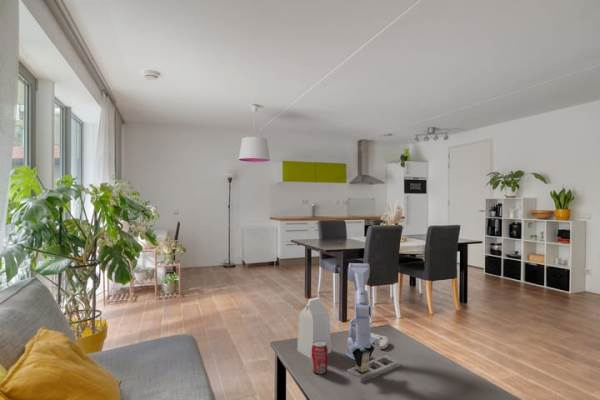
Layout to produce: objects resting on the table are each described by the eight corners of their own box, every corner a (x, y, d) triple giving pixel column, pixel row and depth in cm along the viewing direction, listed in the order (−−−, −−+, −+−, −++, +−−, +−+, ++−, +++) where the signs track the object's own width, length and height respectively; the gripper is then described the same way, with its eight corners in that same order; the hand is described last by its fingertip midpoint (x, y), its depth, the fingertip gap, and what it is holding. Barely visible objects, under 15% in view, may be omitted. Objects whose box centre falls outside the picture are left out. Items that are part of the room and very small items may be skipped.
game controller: (357, 338, 176) (366, 328, 184) (358, 345, 177) (366, 335, 185) (384, 345, 167) (391, 334, 175) (384, 353, 168) (392, 342, 176)
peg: (354, 368, 146) (355, 350, 146) (362, 365, 148) (362, 347, 148) (362, 372, 142) (362, 353, 142) (369, 369, 145) (370, 351, 145)
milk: (312, 359, 159) (312, 304, 158) (297, 350, 168) (297, 298, 167) (331, 352, 166) (331, 299, 166) (315, 344, 175) (315, 294, 175)
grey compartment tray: (347, 374, 146) (347, 369, 146) (385, 359, 159) (385, 355, 159) (360, 382, 139) (360, 377, 139) (399, 366, 153) (399, 361, 153)
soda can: (318, 365, 154) (319, 338, 154) (330, 370, 149) (331, 343, 149) (308, 370, 149) (308, 343, 149) (320, 376, 144) (320, 348, 144)
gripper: (356, 339, 138) (356, 373, 138) (381, 331, 146) (381, 363, 146) (345, 333, 144) (344, 366, 144) (369, 326, 152) (369, 357, 152)
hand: (362, 364), depth 145 cm, fingers closed on peg, 4 cm apart
